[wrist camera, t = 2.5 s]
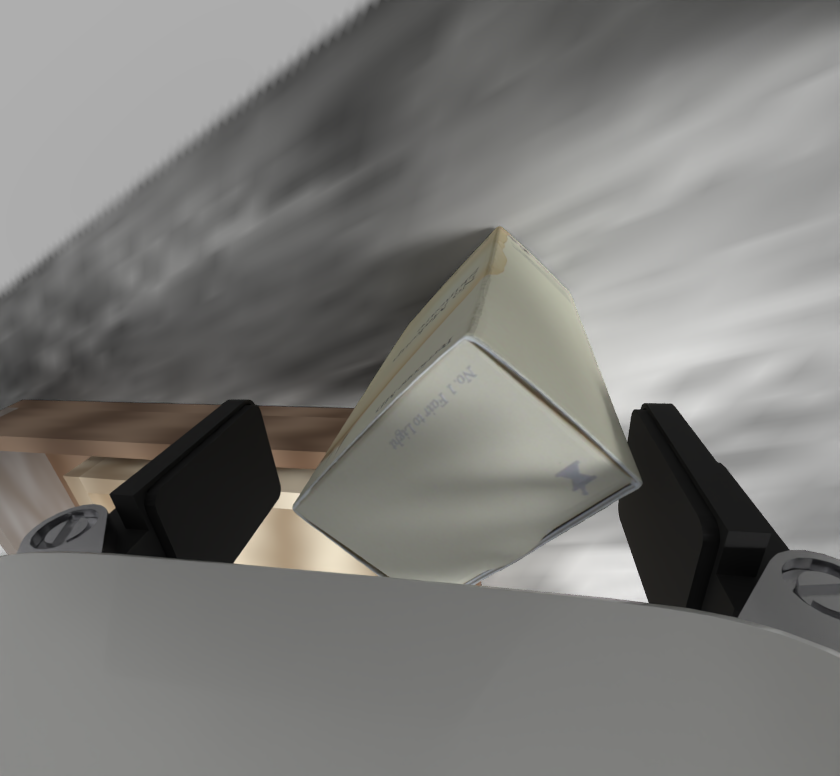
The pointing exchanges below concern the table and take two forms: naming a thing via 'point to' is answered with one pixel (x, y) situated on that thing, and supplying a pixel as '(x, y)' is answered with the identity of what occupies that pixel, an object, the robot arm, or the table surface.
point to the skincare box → (475, 431)
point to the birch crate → (269, 546)
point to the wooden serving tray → (121, 447)
